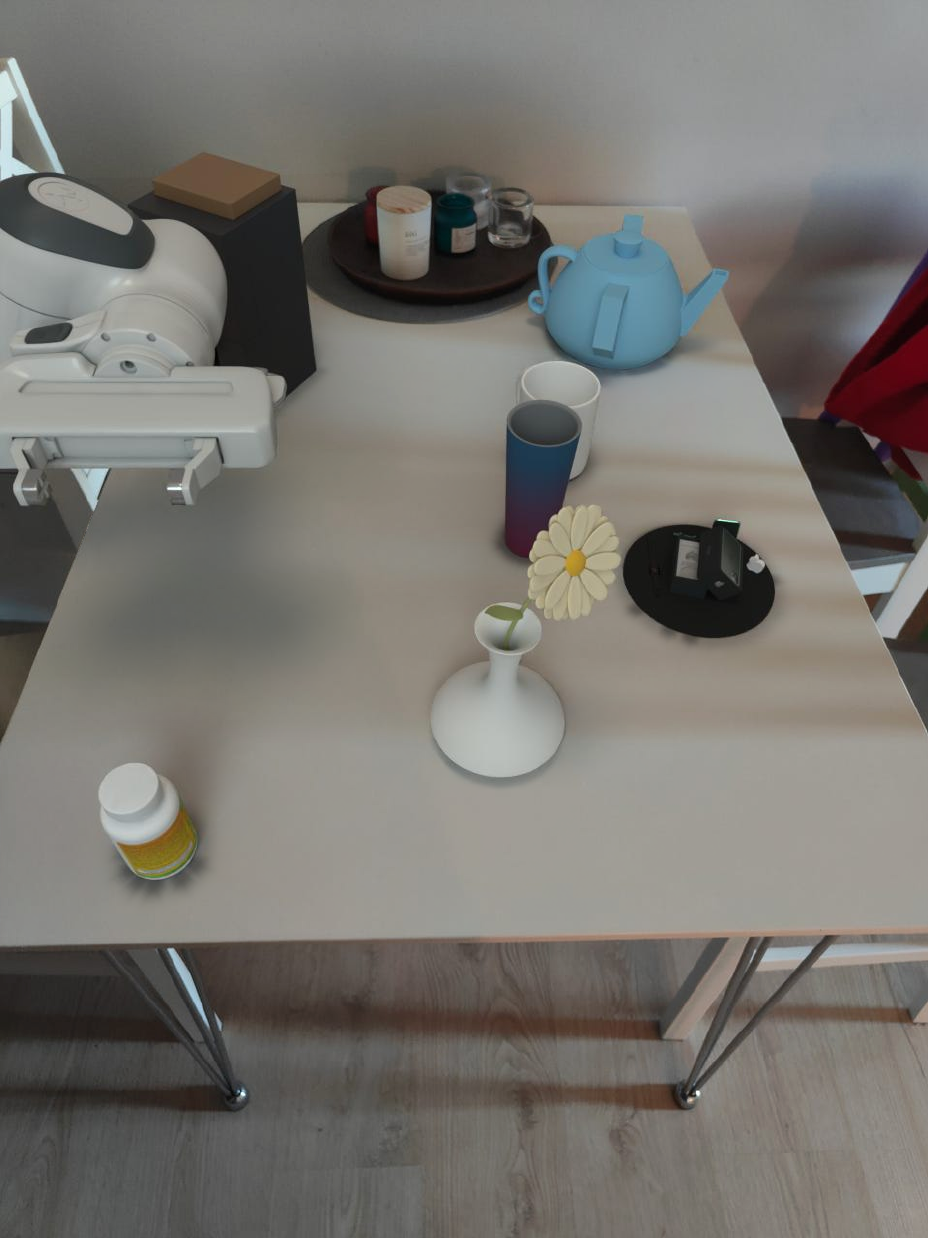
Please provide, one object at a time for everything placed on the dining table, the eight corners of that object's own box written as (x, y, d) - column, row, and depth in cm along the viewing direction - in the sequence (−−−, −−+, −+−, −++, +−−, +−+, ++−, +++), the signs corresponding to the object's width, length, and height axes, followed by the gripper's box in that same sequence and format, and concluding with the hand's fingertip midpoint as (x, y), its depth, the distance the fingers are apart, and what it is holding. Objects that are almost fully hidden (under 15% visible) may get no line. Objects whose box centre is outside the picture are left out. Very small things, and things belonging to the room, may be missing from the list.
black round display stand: (773, 652, 80) (793, 614, 75) (614, 620, 82) (624, 581, 77) (774, 541, 89) (791, 502, 85) (631, 515, 91) (641, 475, 87)
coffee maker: (235, 440, 97) (190, 236, 78) (153, 407, 100) (92, 203, 82) (316, 370, 106) (293, 172, 88) (239, 341, 109) (201, 145, 91)
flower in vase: (450, 801, 69) (460, 599, 49) (415, 689, 76) (412, 473, 56) (600, 764, 71) (664, 559, 52) (553, 659, 78) (595, 443, 59)
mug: (485, 430, 99) (490, 352, 91) (546, 412, 102) (556, 335, 94) (536, 493, 93) (546, 416, 85) (600, 472, 95) (616, 395, 87)
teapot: (589, 393, 104) (608, 287, 94) (510, 316, 115) (518, 213, 104) (711, 354, 111) (741, 251, 100) (625, 285, 121) (644, 185, 111)
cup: (507, 569, 85) (520, 451, 74) (487, 523, 89) (497, 404, 78) (571, 558, 87) (593, 440, 75) (549, 513, 91) (567, 394, 79)
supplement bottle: (213, 842, 66) (185, 780, 58) (158, 896, 63) (122, 839, 56) (166, 803, 68) (134, 739, 60) (111, 854, 65) (70, 793, 58)
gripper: (294, 405, 66) (277, 532, 57) (22, 405, 65) (-38, 534, 56) (283, 332, 61) (262, 459, 52) (-11, 330, 60) (-82, 459, 51)
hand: (104, 498), depth 54 cm, fingers open, 8 cm apart
